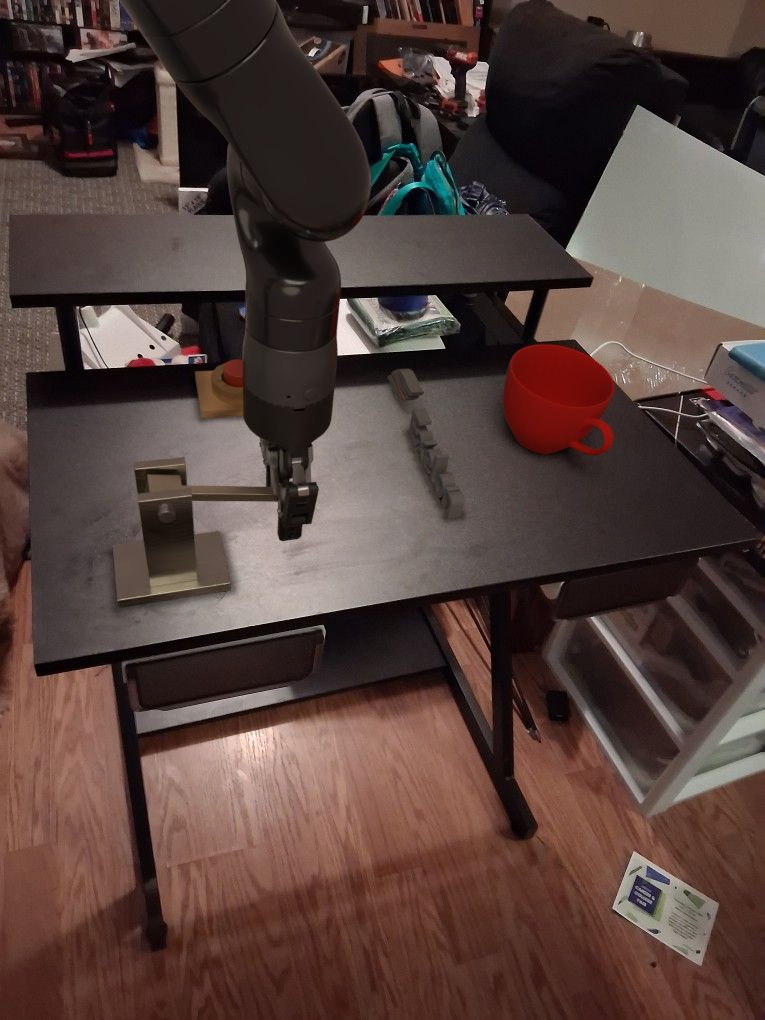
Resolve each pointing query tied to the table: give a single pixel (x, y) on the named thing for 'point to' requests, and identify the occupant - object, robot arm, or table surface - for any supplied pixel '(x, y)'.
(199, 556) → the bracket
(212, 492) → the lever
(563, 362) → the ceramic cup
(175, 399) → the table surface
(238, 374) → the button
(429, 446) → the block letters
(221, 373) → the switch block
